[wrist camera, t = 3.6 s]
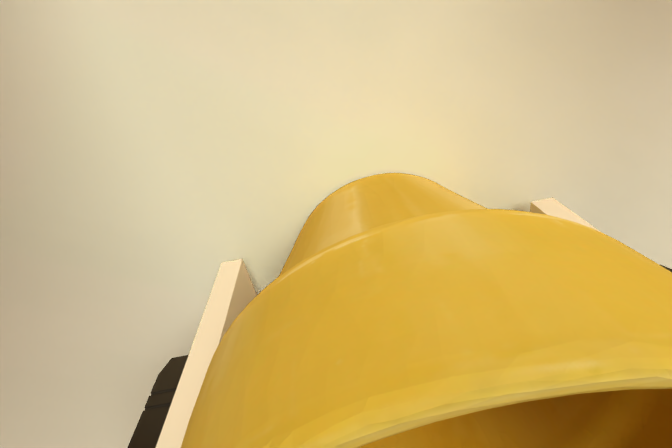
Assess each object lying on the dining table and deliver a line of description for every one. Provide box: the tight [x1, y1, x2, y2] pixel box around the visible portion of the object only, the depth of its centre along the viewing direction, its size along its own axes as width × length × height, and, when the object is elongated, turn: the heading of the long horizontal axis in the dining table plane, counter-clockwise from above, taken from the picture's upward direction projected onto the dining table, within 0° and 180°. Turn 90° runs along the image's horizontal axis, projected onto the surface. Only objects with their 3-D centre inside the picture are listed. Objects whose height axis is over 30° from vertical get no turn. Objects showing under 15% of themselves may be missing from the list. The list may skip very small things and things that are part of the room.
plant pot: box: [181, 173, 672, 448], centre depth 10 cm, size 10×10×10 cm
